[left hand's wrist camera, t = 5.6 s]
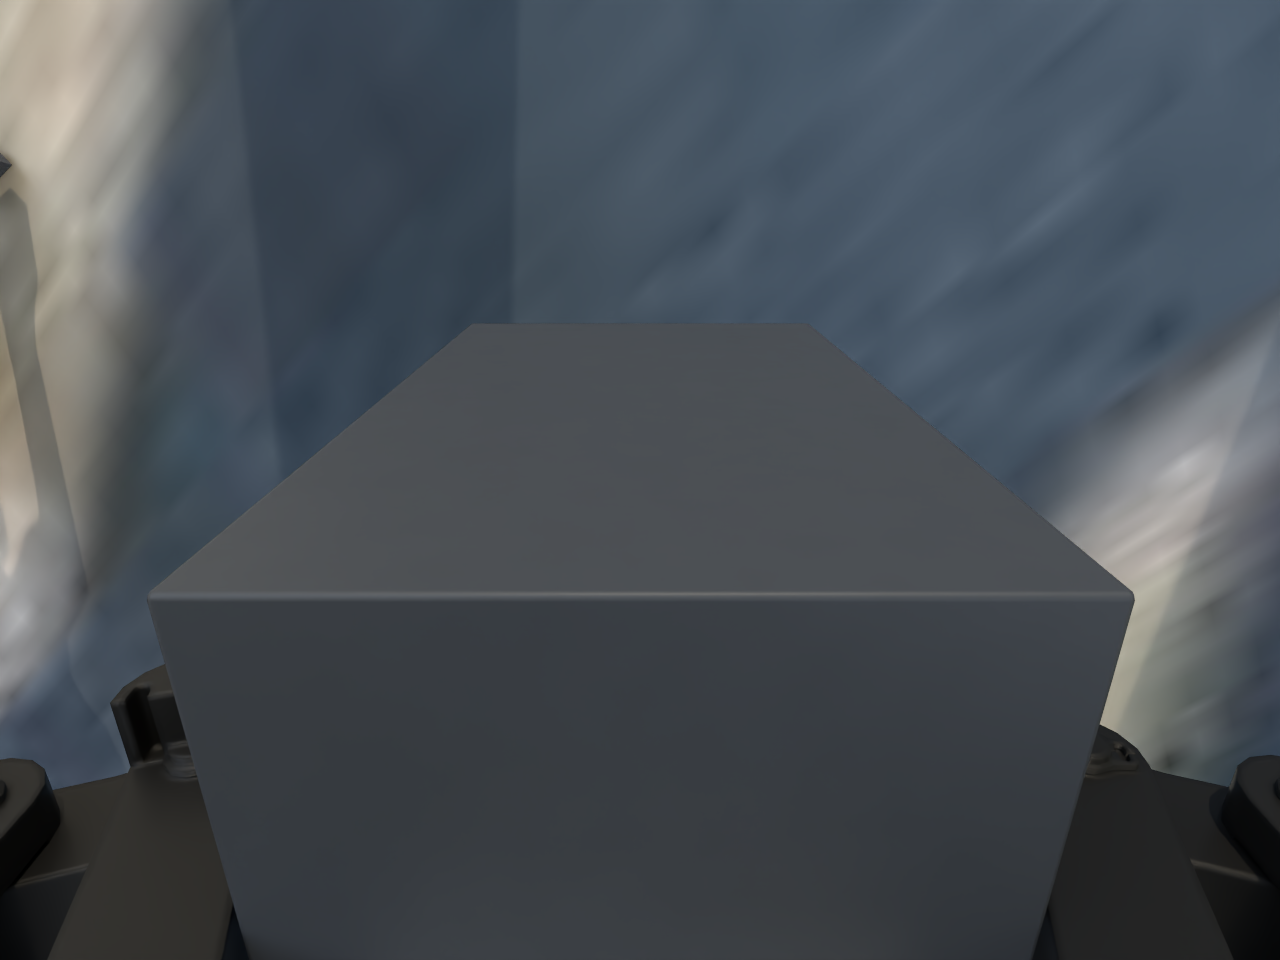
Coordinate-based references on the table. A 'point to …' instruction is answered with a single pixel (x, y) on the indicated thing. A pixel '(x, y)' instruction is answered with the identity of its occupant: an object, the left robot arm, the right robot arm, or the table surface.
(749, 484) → the box
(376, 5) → the table surface
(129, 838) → the left robot arm
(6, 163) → the toy
